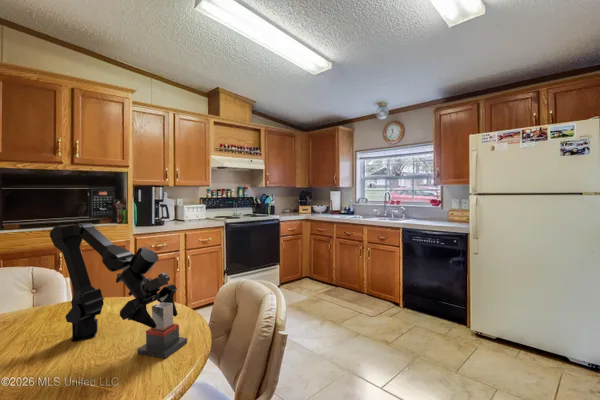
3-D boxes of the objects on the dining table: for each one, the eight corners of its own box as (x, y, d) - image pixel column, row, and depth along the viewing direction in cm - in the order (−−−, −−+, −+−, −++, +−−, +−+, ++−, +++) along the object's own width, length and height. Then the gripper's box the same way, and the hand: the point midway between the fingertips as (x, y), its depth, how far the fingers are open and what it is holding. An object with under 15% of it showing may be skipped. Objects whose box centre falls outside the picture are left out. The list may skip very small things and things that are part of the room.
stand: (137, 353, 90) (137, 332, 90) (161, 338, 100) (161, 319, 100) (164, 358, 87) (164, 336, 87) (187, 342, 97) (186, 322, 97)
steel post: (152, 345, 92) (151, 306, 92) (162, 338, 96) (161, 301, 96) (163, 347, 91) (163, 308, 91) (173, 340, 95) (173, 303, 95)
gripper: (126, 273, 86) (159, 316, 83) (172, 260, 103) (200, 295, 100) (105, 299, 88) (136, 341, 85) (153, 281, 106) (180, 315, 103)
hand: (166, 321), depth 93 cm, fingers open, 9 cm apart
